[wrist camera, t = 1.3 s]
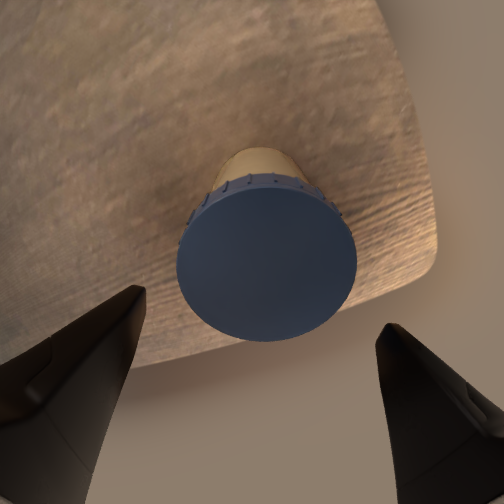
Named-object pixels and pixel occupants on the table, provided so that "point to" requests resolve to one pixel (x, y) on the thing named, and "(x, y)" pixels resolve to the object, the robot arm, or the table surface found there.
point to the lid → (266, 258)
